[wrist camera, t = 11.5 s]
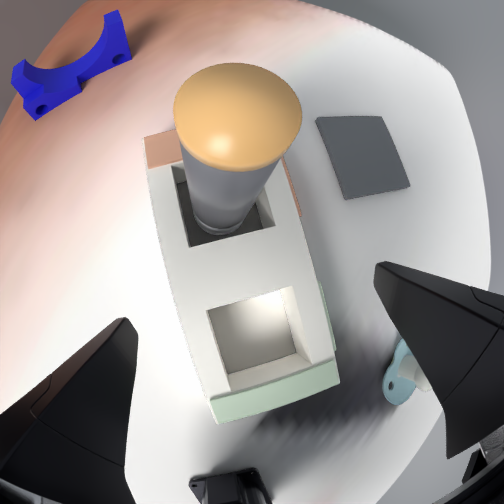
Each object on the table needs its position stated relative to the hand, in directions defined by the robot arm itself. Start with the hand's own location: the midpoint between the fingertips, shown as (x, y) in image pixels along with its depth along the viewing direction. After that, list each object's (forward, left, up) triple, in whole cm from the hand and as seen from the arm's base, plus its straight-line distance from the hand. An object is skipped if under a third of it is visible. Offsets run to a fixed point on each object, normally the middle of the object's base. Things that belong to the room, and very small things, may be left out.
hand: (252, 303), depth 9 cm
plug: (+6, -1, -11) cm, 13 cm away
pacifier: (-12, -14, -11) cm, 22 cm away
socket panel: (+2, -1, -11) cm, 11 cm away
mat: (+9, -15, -11) cm, 21 cm away
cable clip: (+25, +10, -11) cm, 29 cm away
